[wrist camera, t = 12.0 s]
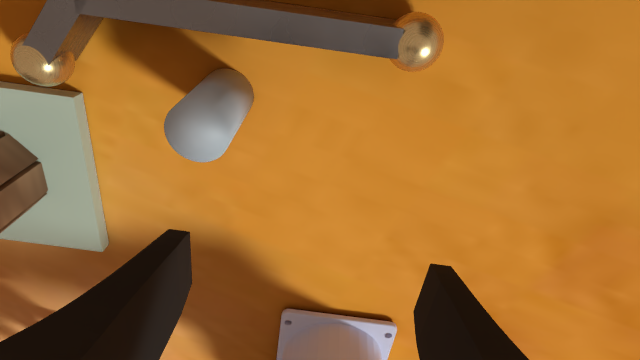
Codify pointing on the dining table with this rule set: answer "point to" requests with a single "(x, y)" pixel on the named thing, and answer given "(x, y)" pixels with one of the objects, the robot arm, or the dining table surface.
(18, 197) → the napkin ring
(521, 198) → the dining table surface
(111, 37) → the dining table surface
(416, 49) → the rail
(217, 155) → the post inner
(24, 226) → the pad
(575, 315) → the dining table surface
